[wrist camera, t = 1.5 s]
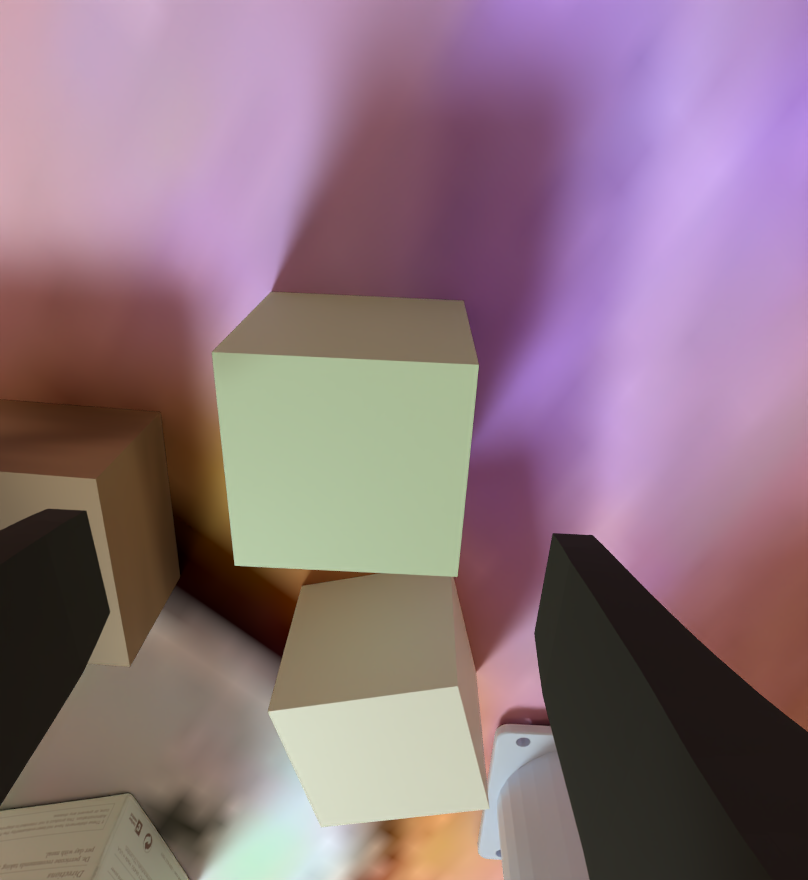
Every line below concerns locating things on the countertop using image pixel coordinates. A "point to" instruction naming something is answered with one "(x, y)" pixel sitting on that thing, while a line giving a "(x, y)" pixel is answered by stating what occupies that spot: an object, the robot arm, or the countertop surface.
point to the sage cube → (348, 432)
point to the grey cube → (381, 700)
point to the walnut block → (99, 502)
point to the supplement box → (84, 842)
